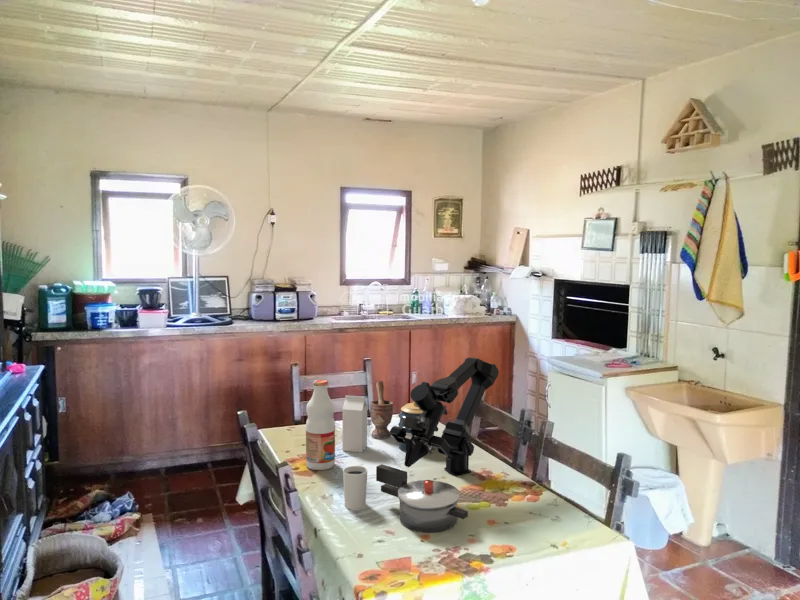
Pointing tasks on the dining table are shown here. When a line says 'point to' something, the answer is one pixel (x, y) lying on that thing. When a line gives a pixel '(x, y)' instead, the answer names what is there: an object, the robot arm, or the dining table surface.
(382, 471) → the lid
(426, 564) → the dining table surface
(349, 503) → the white cup
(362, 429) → the milk carton
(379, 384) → the mortar and pestle
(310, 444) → the fruit juice
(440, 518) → the pot
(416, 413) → the canister
